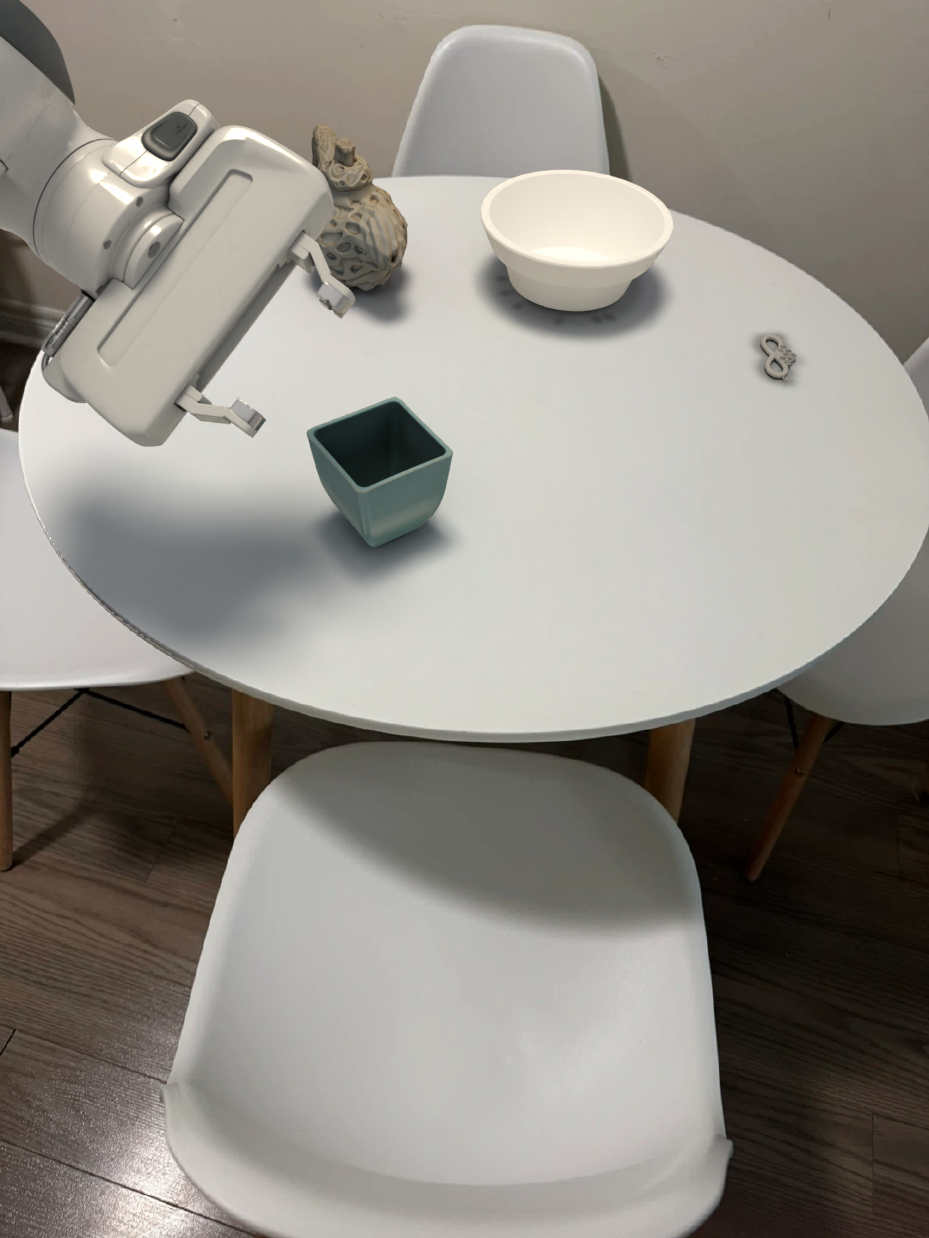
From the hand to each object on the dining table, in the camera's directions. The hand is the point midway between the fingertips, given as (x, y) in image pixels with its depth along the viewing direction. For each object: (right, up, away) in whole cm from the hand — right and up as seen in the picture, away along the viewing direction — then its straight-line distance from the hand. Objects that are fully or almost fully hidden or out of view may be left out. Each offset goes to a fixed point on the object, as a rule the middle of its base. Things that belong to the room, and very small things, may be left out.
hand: (303, 366), depth 55 cm
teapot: (-3, +24, +47) cm, 52 cm away
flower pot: (+3, -7, +22) cm, 24 cm away
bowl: (+22, +23, +47) cm, 56 cm away
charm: (+44, +12, +39) cm, 60 cm away
